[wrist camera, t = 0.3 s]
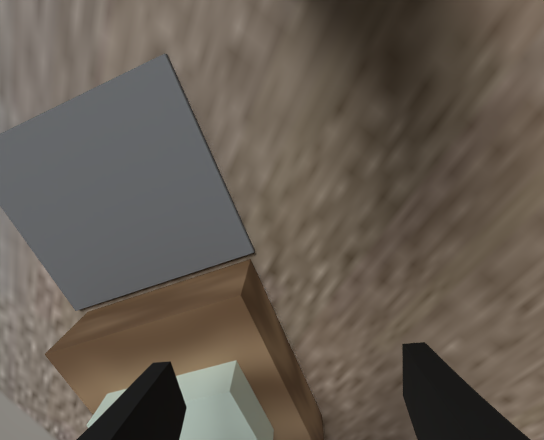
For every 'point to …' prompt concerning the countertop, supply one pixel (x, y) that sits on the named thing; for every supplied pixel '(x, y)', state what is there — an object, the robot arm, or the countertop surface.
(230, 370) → the pale green rectangular block
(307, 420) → the tan square board
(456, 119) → the countertop surface
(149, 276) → the mat
